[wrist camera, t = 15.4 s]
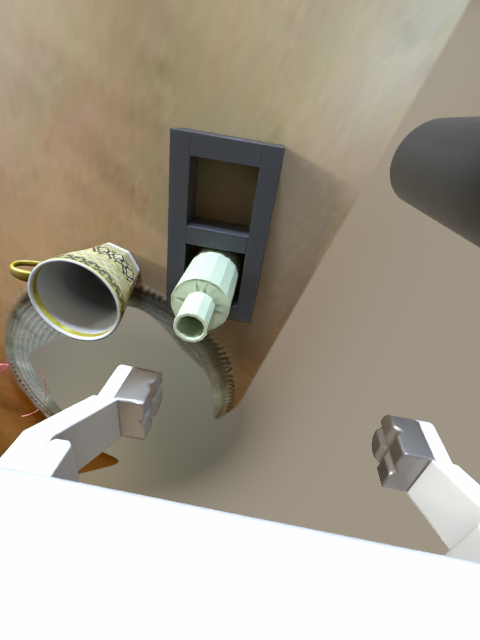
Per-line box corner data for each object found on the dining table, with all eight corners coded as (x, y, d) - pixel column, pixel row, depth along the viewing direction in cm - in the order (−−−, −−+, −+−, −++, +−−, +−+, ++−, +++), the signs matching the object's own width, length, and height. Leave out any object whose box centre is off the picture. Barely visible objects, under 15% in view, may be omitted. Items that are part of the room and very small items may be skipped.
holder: (284, 145, 32) (284, 147, 29) (252, 307, 43) (250, 323, 40) (181, 127, 33) (170, 127, 29) (174, 293, 43) (166, 308, 40)
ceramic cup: (161, 251, 40) (129, 285, 31) (141, 311, 45) (109, 354, 37) (60, 204, 38) (-2, 227, 30) (52, 272, 43) (-3, 308, 35)
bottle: (243, 245, 38) (227, 305, 26) (237, 287, 42) (219, 359, 29) (197, 237, 39) (157, 293, 26) (194, 280, 42) (157, 348, 29)
